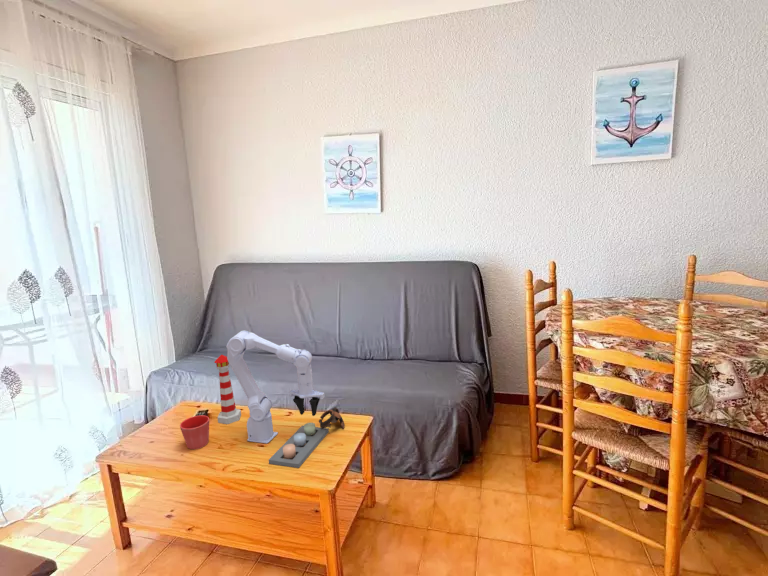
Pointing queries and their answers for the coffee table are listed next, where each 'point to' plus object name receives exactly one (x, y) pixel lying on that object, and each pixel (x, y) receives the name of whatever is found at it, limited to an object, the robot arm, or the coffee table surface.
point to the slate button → (299, 439)
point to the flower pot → (195, 431)
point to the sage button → (309, 429)
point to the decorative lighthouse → (226, 393)
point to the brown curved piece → (331, 418)
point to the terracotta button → (289, 451)
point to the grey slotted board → (299, 448)
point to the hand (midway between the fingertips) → (308, 414)
